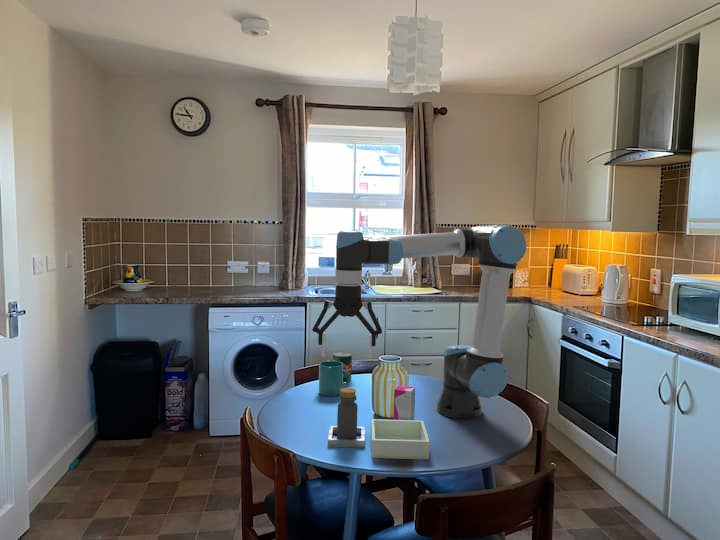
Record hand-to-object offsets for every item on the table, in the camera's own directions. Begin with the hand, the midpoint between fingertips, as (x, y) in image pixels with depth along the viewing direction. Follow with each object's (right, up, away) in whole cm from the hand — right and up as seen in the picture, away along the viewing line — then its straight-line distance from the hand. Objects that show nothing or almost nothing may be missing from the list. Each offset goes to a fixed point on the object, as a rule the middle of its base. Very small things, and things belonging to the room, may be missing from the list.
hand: (346, 356), depth 155 cm
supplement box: (+18, -24, +16) cm, 34 cm away
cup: (-6, -21, +44) cm, 49 cm away
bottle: (0, -25, +1) cm, 25 cm away
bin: (+15, -26, -3) cm, 30 cm away
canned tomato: (-4, -20, +61) cm, 64 cm away
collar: (0, -25, +1) cm, 25 cm away
